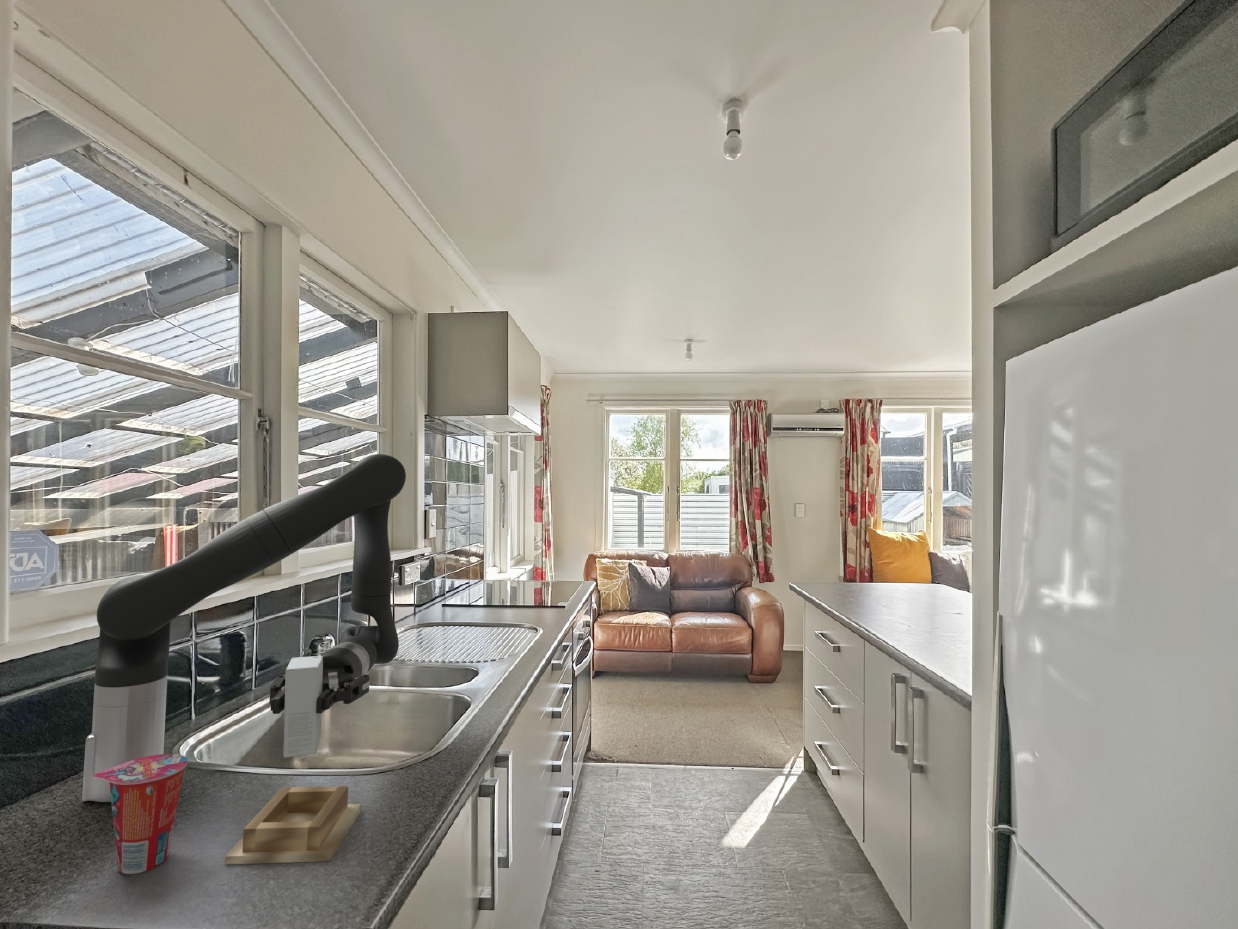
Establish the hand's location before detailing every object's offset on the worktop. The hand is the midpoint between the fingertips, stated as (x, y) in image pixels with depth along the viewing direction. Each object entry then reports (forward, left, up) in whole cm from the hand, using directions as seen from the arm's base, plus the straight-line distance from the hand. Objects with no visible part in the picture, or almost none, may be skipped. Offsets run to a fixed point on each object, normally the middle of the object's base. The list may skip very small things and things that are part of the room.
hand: (297, 706), depth 86 cm
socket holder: (+1, +2, -19) cm, 19 cm away
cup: (-18, +1, -19) cm, 26 cm away
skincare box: (+1, +3, -7) cm, 7 cm away
